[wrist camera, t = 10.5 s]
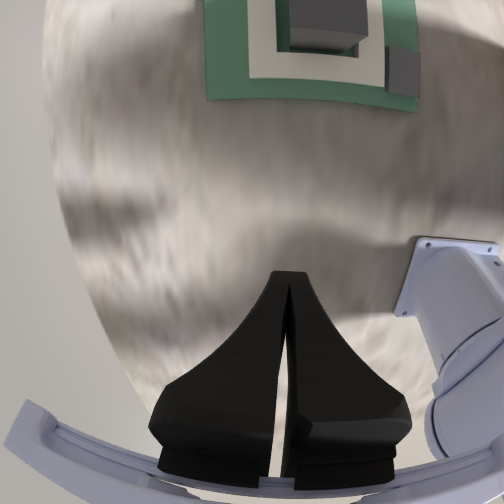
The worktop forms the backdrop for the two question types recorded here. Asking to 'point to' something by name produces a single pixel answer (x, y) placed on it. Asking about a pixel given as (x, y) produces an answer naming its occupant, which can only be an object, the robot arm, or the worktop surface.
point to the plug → (327, 24)
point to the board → (310, 56)
